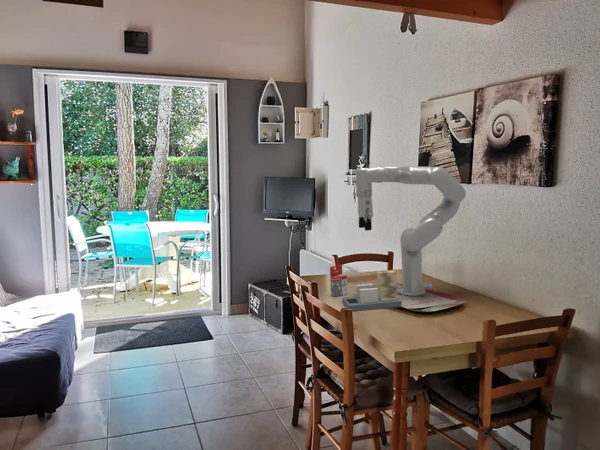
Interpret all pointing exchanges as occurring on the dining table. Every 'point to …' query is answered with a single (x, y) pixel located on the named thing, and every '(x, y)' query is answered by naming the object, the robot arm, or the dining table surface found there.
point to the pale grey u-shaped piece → (367, 293)
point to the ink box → (338, 281)
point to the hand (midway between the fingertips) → (365, 228)
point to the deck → (355, 303)
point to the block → (387, 284)
